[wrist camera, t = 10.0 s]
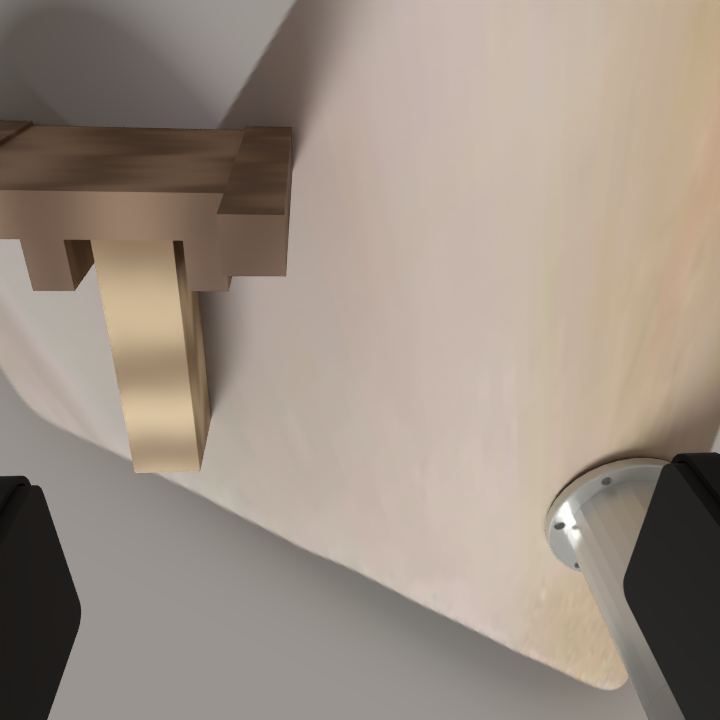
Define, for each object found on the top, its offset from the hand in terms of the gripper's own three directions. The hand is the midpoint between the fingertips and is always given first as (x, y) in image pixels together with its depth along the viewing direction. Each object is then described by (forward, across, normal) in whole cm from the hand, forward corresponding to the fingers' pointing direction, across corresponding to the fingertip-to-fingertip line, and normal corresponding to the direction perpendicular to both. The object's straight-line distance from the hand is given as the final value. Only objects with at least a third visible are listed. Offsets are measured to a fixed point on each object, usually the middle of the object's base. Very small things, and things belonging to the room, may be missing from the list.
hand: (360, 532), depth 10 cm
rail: (+29, +10, +12) cm, 33 cm away
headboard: (+29, +10, +3) cm, 31 cm away
